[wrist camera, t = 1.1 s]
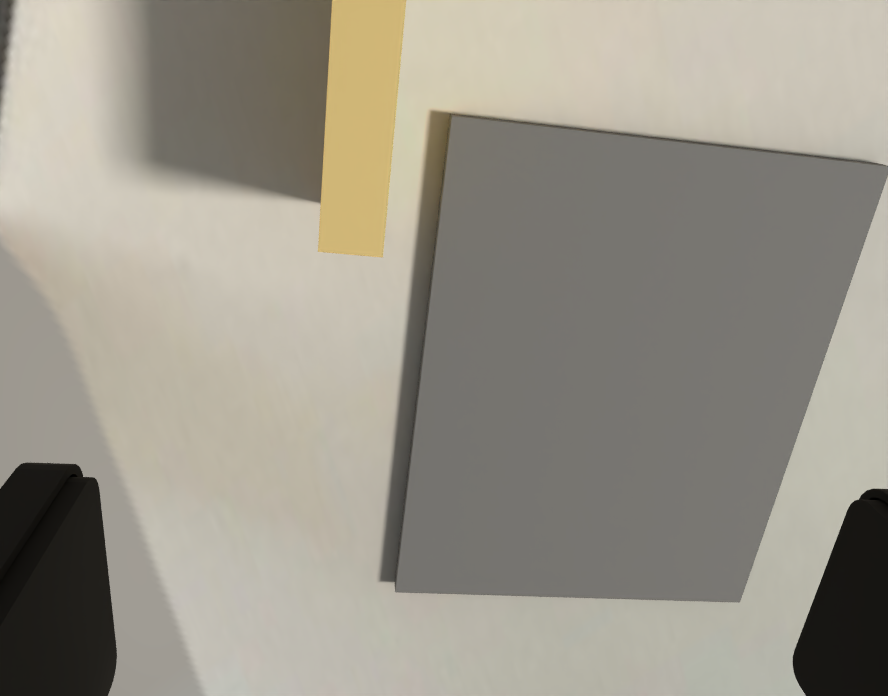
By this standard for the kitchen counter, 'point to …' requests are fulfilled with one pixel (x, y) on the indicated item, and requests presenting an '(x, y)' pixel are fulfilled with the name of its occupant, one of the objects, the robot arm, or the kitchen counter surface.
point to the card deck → (360, 124)
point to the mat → (618, 358)
